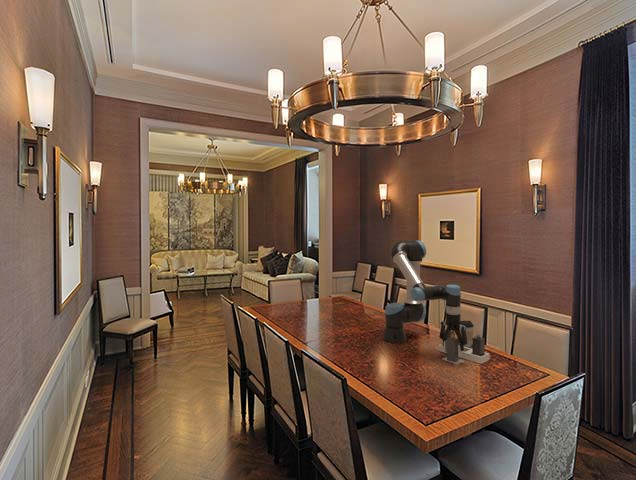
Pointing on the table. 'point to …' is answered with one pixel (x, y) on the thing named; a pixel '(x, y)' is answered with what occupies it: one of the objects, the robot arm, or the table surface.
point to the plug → (452, 348)
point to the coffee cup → (468, 332)
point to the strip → (472, 350)
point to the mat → (454, 362)
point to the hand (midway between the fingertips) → (452, 354)
